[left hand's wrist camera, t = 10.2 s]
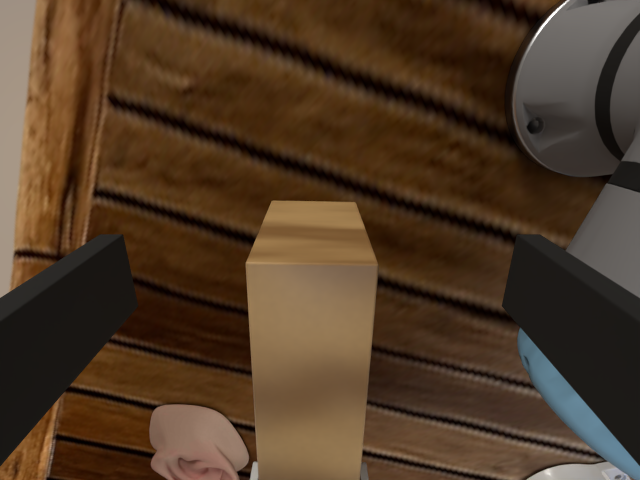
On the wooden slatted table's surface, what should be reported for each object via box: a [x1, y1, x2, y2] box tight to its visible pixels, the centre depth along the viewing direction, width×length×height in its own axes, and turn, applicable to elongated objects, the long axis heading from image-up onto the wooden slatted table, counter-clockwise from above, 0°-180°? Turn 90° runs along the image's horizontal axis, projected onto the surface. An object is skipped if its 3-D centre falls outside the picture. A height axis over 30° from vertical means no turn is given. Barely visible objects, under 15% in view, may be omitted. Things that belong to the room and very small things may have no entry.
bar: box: [246, 201, 379, 480], centre depth 21 cm, size 22×5×8 cm, turn 179°
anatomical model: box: [149, 404, 249, 480], centre depth 45 cm, size 13×4×12 cm
